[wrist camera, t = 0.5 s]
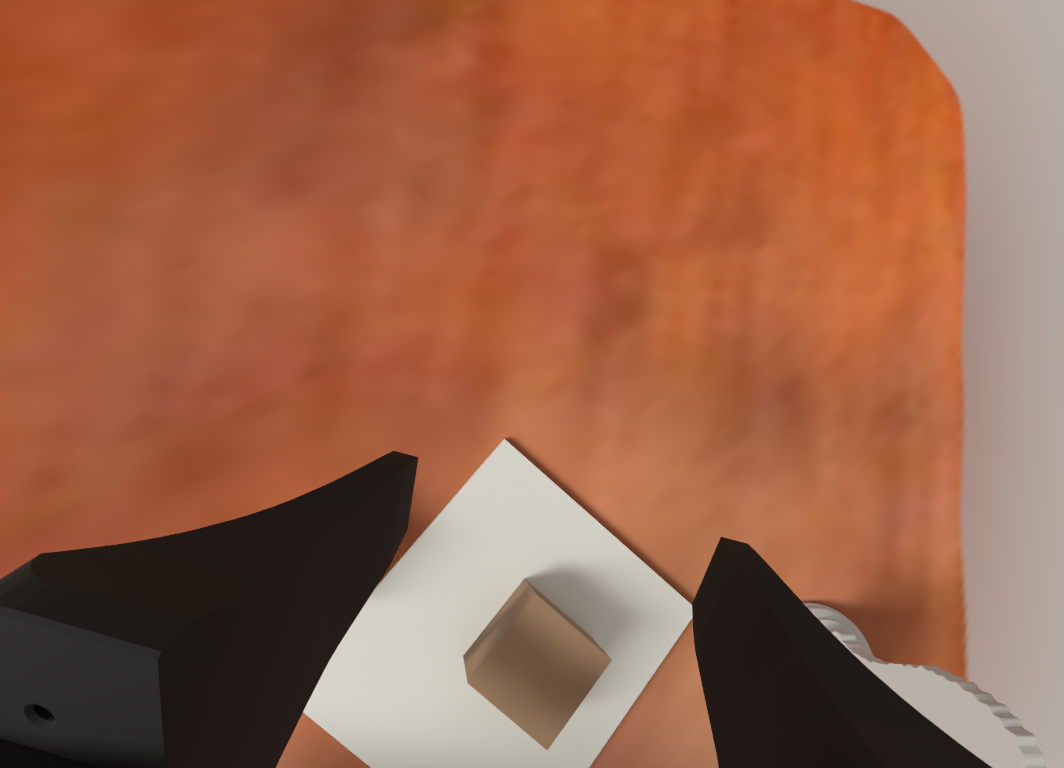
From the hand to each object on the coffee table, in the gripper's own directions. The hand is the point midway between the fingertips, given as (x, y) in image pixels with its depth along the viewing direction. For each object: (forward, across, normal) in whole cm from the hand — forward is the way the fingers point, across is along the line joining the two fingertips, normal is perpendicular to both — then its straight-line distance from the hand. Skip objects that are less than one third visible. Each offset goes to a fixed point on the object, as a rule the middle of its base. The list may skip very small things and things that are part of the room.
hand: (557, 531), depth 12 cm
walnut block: (+16, -2, +20) cm, 26 cm away
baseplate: (+16, 0, +21) cm, 26 cm away
